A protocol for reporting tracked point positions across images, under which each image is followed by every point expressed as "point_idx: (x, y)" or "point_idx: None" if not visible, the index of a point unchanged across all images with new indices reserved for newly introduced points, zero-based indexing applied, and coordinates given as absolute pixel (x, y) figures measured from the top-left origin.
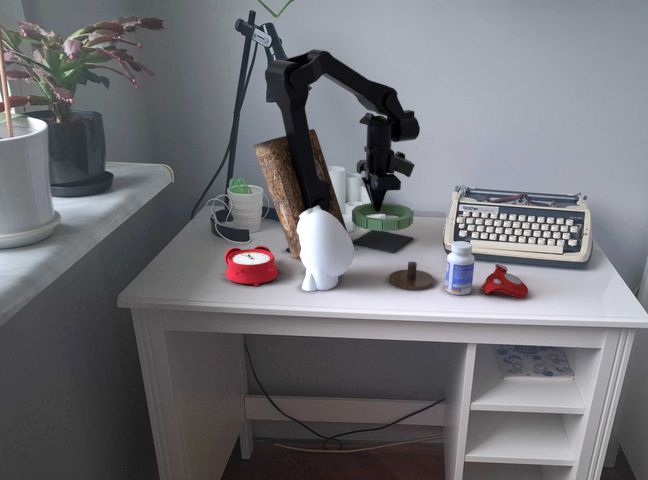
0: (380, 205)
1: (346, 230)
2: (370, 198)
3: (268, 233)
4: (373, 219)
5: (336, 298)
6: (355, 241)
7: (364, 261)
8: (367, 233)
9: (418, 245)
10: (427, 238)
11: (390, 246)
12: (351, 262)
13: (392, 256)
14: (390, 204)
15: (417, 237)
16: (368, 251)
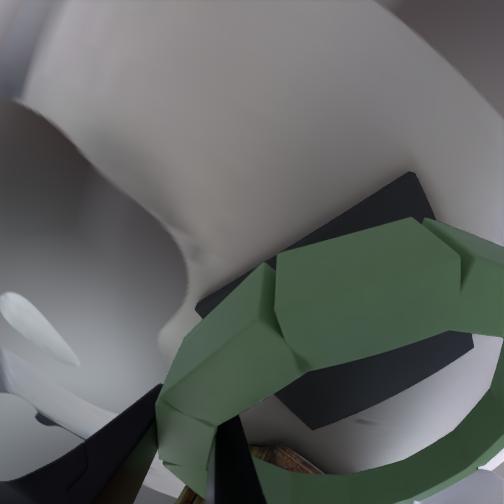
0: (246, 448)
1: (271, 456)
2: (142, 477)
3: (159, 485)
4: (439, 490)
5: (494, 459)
6: (318, 422)
7: (446, 421)
8: None
9: (475, 198)
10: (415, 82)
11: (442, 342)
12: (499, 476)
13: (482, 351)
14: (249, 384)
15: (383, 122)
16: (403, 402)
